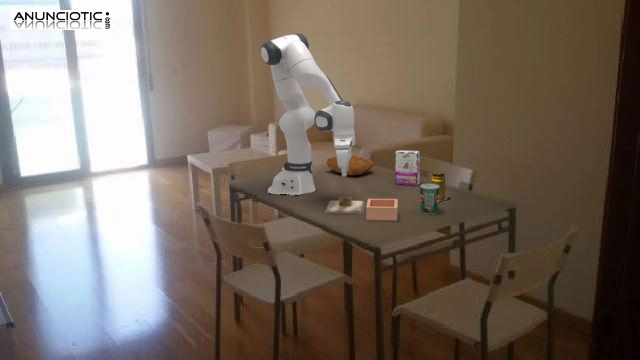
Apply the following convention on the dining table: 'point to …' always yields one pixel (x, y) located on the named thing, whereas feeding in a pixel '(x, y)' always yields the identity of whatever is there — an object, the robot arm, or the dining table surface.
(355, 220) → the dining table surface
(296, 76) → the robot arm
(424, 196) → the canned tomato
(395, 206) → the rectangular open box
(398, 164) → the candy bar box
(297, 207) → the dining table surface
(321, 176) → the dining table surface
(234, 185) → the dining table surface
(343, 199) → the lid
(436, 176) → the condiment
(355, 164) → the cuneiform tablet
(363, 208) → the mat
